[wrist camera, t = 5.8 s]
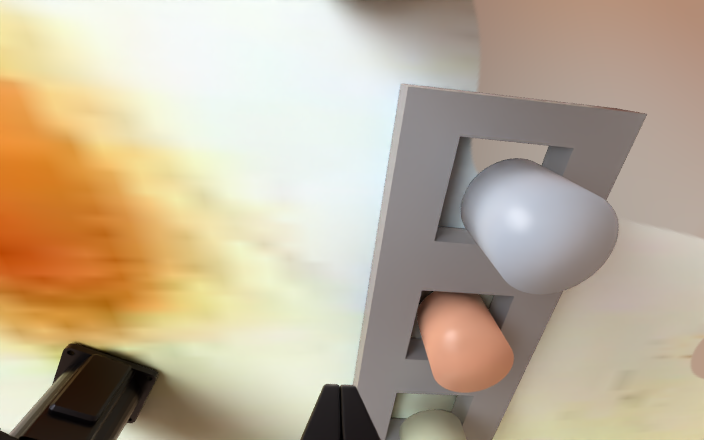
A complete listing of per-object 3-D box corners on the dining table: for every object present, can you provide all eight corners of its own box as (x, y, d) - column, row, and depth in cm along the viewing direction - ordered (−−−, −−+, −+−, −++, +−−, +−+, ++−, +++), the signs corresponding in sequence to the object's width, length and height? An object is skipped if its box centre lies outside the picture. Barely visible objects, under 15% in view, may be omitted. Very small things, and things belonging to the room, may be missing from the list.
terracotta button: (473, 340, 25) (499, 394, 21) (410, 337, 24) (424, 391, 20) (492, 288, 23) (525, 337, 19) (423, 283, 22) (442, 332, 18)
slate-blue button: (534, 246, 18) (587, 297, 15) (451, 240, 18) (482, 290, 14) (568, 163, 16) (640, 196, 12) (474, 153, 16) (519, 185, 12)
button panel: (474, 434, 31) (483, 458, 29) (345, 431, 30) (345, 455, 28) (616, 108, 18) (647, 114, 16) (400, 83, 17) (408, 86, 15)
